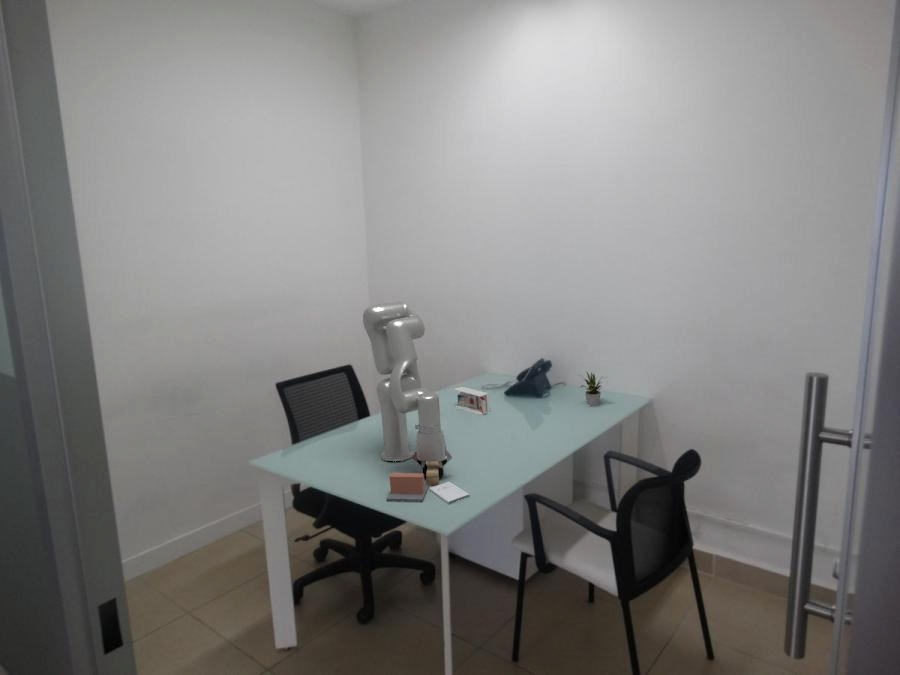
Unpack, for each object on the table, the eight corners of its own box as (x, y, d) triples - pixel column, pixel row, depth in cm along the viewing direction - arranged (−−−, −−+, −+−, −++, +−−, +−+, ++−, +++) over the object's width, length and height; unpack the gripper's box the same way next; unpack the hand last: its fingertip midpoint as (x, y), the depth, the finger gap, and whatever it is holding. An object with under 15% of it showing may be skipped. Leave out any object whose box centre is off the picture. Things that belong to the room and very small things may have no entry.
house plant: (570, 402, 276) (569, 369, 273) (595, 398, 280) (595, 366, 277) (585, 410, 262) (585, 376, 259) (611, 406, 266) (611, 372, 263)
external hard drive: (448, 506, 181) (429, 492, 192) (470, 498, 185) (449, 485, 196) (448, 501, 181) (429, 487, 191) (469, 494, 185) (449, 480, 196)
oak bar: (428, 469, 208) (427, 459, 208) (439, 469, 208) (438, 459, 208) (427, 486, 195) (426, 476, 194) (438, 486, 195) (437, 475, 194)
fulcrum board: (394, 487, 195) (392, 468, 194) (428, 488, 193) (427, 469, 192) (386, 501, 186) (385, 481, 184) (422, 502, 184) (421, 482, 182)
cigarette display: (454, 407, 279) (453, 389, 277) (462, 404, 283) (461, 386, 281) (483, 415, 264) (482, 396, 262) (491, 412, 268) (490, 393, 266)
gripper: (403, 431, 196) (407, 481, 199) (452, 431, 193) (455, 481, 196) (408, 424, 203) (412, 472, 206) (455, 424, 200) (458, 472, 204)
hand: (433, 476), depth 201 cm, fingers closed on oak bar, 4 cm apart
